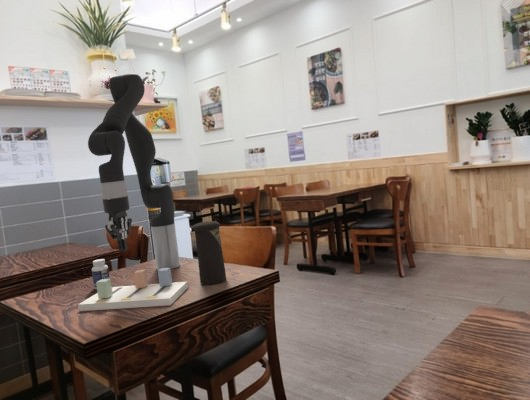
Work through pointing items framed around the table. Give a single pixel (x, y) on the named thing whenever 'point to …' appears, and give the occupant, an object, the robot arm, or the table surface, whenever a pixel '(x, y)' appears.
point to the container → (209, 253)
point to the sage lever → (104, 288)
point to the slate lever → (165, 276)
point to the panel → (136, 297)
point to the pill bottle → (99, 271)
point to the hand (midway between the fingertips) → (123, 250)
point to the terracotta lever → (141, 278)
